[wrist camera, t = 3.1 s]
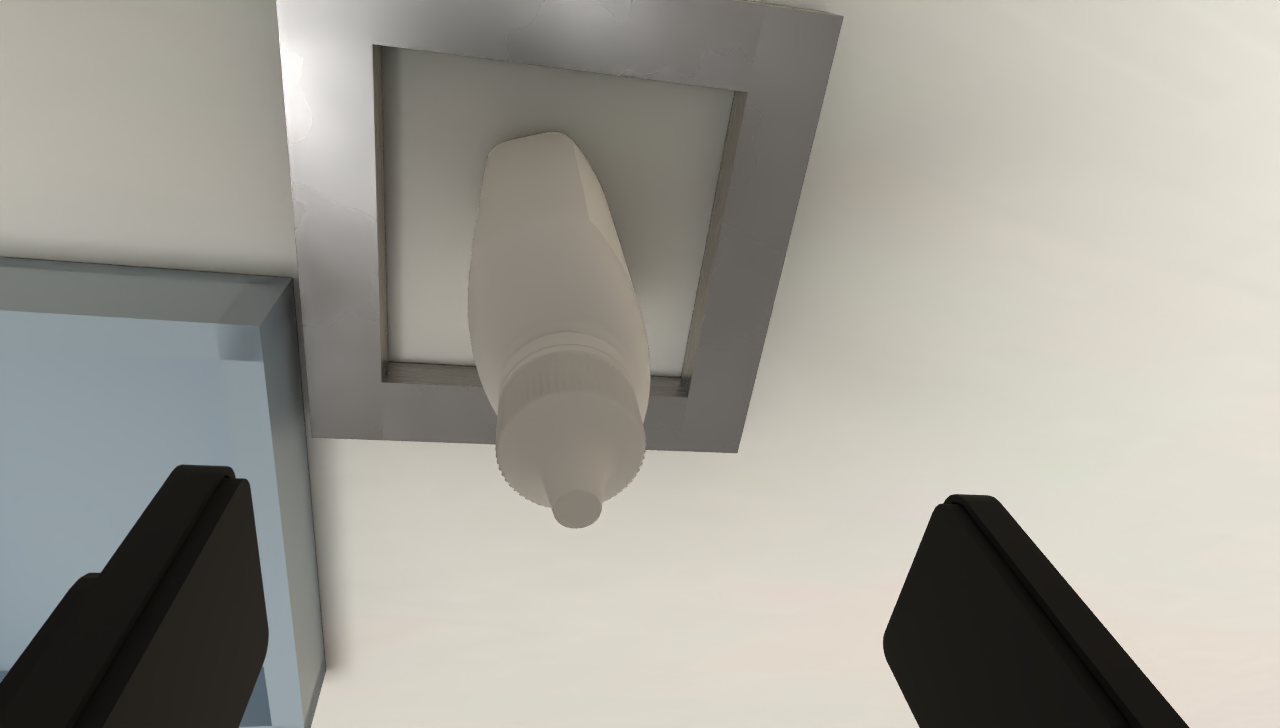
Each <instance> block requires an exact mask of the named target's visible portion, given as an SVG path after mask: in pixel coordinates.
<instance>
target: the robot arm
mask: <svg viewBox="0 0 1280 728" xmlns="http://www.w3.org/2000/svg"><path fill="white" fill-rule="evenodd" d="M268 641H269V628H268V620H267V612H266V605H265V597H264V589H263V581H262V573H261V565H260V557H259V549H258V542H257V534H256V526H255V518H254V510H253V502H252V494H251V487H250V483H249V481H248V480H247V479H244V478H236V477H235V473H234V471H233V469H232V468H231V467H229V466H210V465H184V464H181V465H179V466H177V467H176V468H175V469H174V470H173V471H172V472H171V474H170V475H169V476H168V478H167V479H166V481H165V482H164V483H163V485H162V486H161V488H160V489H159V491H158V492H157V493H156V495H155V496H154V498H153V499H152V500H151V502H150V503H149V505H148V506H147V508H146V509H145V510H144V512H143V513H142V515H141V516H140V517H139V519H138V520H137V522H136V523H135V525H134V526H133V527H132V529H131V530H130V532H129V533H128V534H127V536H126V537H125V539H124V540H123V542H122V543H121V544H120V546H119V547H118V549H117V550H116V552H115V553H114V554H113V556H112V557H111V559H110V560H109V561H108V563H107V564H106V566H105V567H104V569H103V570H102V571H101V573H88V574H86V575H84V576H82V577H80V578H79V579H78V580H77V581H76V582H75V583H74V585H73V586H72V587H71V588H70V589H69V590H68V592H67V593H66V594H65V596H64V597H63V598H62V600H61V601H60V603H59V604H58V605H57V607H56V608H55V609H54V611H53V612H52V613H51V615H50V616H49V617H48V619H47V620H46V622H45V623H44V624H43V626H42V627H41V628H40V630H39V631H38V632H37V634H36V635H35V636H34V638H33V639H32V641H31V642H30V643H29V645H28V646H27V647H26V649H25V650H24V651H23V653H22V654H21V655H20V657H19V658H18V660H17V661H16V662H15V664H14V665H13V666H12V668H11V669H10V670H9V672H8V673H7V675H6V676H5V677H4V679H3V680H2V681H1V683H0V728H239V725H240V723H241V720H242V718H243V715H244V712H245V710H246V707H247V705H248V702H249V700H250V697H251V694H252V692H253V689H254V687H255V684H256V681H257V679H258V676H259V674H260V671H261V668H262V666H263V663H264V660H265V657H266V653H267V648H268ZM883 649H884V654H885V657H886V660H887V662H888V664H889V666H890V668H891V670H892V672H893V674H894V677H895V679H896V681H897V683H898V685H899V687H900V689H901V691H902V693H903V695H904V697H905V699H906V701H907V703H908V705H909V707H910V709H911V711H912V713H913V715H914V717H915V719H916V721H917V723H918V725H919V727H920V728H1189V727H1188V725H1187V724H1186V723H1185V722H1184V721H1183V719H1182V718H1181V717H1180V716H1179V715H1178V713H1177V712H1176V711H1175V710H1174V709H1173V708H1172V706H1171V705H1170V704H1169V703H1168V702H1167V700H1166V699H1165V698H1164V697H1163V696H1162V694H1161V693H1160V692H1159V691H1158V690H1157V689H1156V687H1155V686H1154V685H1153V684H1152V683H1151V681H1150V680H1149V679H1148V678H1147V677H1146V675H1145V674H1144V673H1143V672H1142V671H1141V669H1140V668H1139V667H1138V666H1137V665H1136V664H1135V662H1134V661H1133V660H1132V659H1131V658H1130V656H1129V655H1128V654H1127V653H1126V652H1125V650H1124V649H1123V648H1122V647H1121V646H1120V644H1119V643H1118V642H1117V641H1116V640H1115V639H1114V637H1113V636H1112V635H1111V634H1110V633H1109V631H1108V630H1107V629H1106V628H1105V627H1104V625H1103V624H1102V623H1101V622H1100V621H1099V620H1098V618H1097V617H1096V616H1095V615H1094V614H1093V612H1092V611H1091V610H1090V609H1089V608H1088V606H1087V605H1086V604H1085V603H1084V602H1083V600H1082V599H1081V598H1080V597H1079V596H1078V595H1077V593H1076V592H1075V591H1074V590H1073V589H1072V587H1071V586H1070V585H1069V584H1068V583H1067V581H1066V580H1065V579H1064V578H1063V577H1062V576H1061V574H1060V573H1059V572H1058V571H1057V570H1056V568H1055V567H1054V566H1053V565H1052V564H1051V562H1050V561H1049V560H1048V559H1047V558H1046V556H1045V555H1044V554H1043V553H1042V552H1041V551H1040V549H1039V548H1038V547H1037V546H1036V545H1035V543H1034V542H1033V541H1032V540H1031V539H1030V537H1029V536H1028V535H1027V534H1026V533H1025V531H1024V530H1023V529H1022V528H1021V527H1020V526H1019V524H1018V523H1017V522H1016V521H1015V520H1014V518H1013V517H1012V516H1011V515H1010V514H1009V512H1008V511H1007V510H1006V509H1005V508H1004V507H1003V505H1002V504H1001V503H1000V502H999V501H998V500H997V499H996V498H995V497H992V496H988V495H962V494H955V495H950V496H949V497H948V498H947V499H946V500H945V502H944V503H943V504H939V505H938V506H937V507H935V509H934V511H933V513H932V516H931V518H930V521H929V523H928V526H927V528H926V531H925V533H924V536H923V538H922V541H921V543H920V546H919V548H918V551H917V553H916V556H915V558H914V561H913V563H912V566H911V568H910V570H909V573H908V575H907V578H906V580H905V583H904V585H903V588H902V590H901V593H900V595H899V598H898V600H897V603H896V605H895V608H894V610H893V613H892V615H891V618H890V620H889V623H888V625H887V628H886V630H885V633H884V637H883Z"/></svg>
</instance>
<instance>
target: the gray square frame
mask: <svg viewBox="0 0 1280 728" xmlns="http://www.w3.org/2000/svg"><path fill="white" fill-rule="evenodd" d="M276 5H277V18H278V30H279V42H280V55H281V67H282V79H283V91H284V104H285V116H286V128H287V140H288V153H289V165H290V177H291V189H292V202H293V214H294V226H295V238H296V251H297V263H298V275H299V287H300V300H301V312H302V324H303V336H304V349H305V361H306V373H307V385H308V398H309V410H310V422H311V434H312V438H337V439H365V440H392V441H420V442H447V443H475V444H496V433H497V415H496V413H495V411H494V409H493V408H492V406H491V404H490V402H489V400H488V397H487V395H486V393H485V391H484V388H483V386H482V383H481V380H480V377H479V374H478V371H477V367H472V366H453V365H435V364H417V363H398V362H388V337H387V293H386V248H385V204H384V159H383V115H382V71H381V45H384V46H391V47H399V48H407V49H415V50H423V51H430V52H438V53H446V54H454V55H462V56H469V57H477V58H485V59H493V60H501V61H509V62H516V63H524V64H532V65H540V66H548V67H555V68H563V69H571V70H579V71H587V72H594V73H602V74H610V75H618V76H626V77H633V78H641V79H649V80H657V81H665V82H672V83H680V84H688V85H696V86H704V87H711V88H719V89H727V90H735V94H734V99H733V105H732V110H731V115H730V121H729V126H728V131H727V136H726V142H725V147H724V152H723V158H722V163H721V168H720V173H719V179H718V184H717V189H716V195H715V200H714V205H713V210H712V216H711V221H710V226H709V231H708V237H707V242H706V247H705V253H704V258H703V263H702V268H701V274H700V279H699V284H698V290H697V295H696V300H695V305H694V311H693V316H692V321H691V327H690V332H689V337H688V342H687V348H686V353H685V358H684V364H683V369H682V374H681V378H673V377H655V376H650V392H649V400H648V406H647V411H646V415H645V419H644V423H643V427H644V431H645V437H646V440H645V442H646V447H645V450H667V451H694V452H722V453H737V452H738V448H739V444H740V440H741V436H742V432H743V428H744V424H745V419H746V415H747V411H748V407H749V403H750V399H751V395H752V391H753V387H754V382H755V378H756V374H757V370H758V366H759V362H760V358H761V354H762V350H763V345H764V341H765V337H766V333H767V329H768V325H769V321H770V317H771V313H772V308H773V304H774V300H775V296H776V292H777V288H778V284H779V280H780V276H781V272H782V267H783V263H784V259H785V255H786V251H787V247H788V243H789V239H790V235H791V230H792V226H793V222H794V218H795V214H796V210H797V206H798V202H799V198H800V193H801V189H802V185H803V181H804V177H805V173H806V169H807V165H808V161H809V156H810V152H811V148H812V144H813V140H814V136H815V132H816V128H817V124H818V119H819V115H820V111H821V107H822V103H823V99H824V95H825V91H826V87H827V83H828V78H829V74H830V70H831V66H832V62H833V58H834V54H835V50H836V46H837V41H838V37H839V33H840V29H841V25H842V21H843V16H839V15H835V14H831V13H827V12H821V11H814V10H808V9H801V8H794V7H788V6H781V5H775V4H768V3H761V2H755V1H748V0H276Z"/></svg>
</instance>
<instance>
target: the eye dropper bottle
mask: <svg viewBox="0 0 1280 728" xmlns="http://www.w3.org/2000/svg"><path fill="white" fill-rule="evenodd" d="M468 318H469V331H470V338H471V345H472V351H473V355H474V360H475V364H476V367H477V371H478V374H479V377H480V380H481V383H482V386H483V388H484V391H485V393H486V395H487V397H488V400H489V402H490V404H491V406H492V408H493V409H494V411H495V413H496V415H497V433H496V457H497V463H498V464H499V470H501V471H502V476H504V477H505V481H507V482H508V483H509V486H511V487H512V488H514V491H516V492H518V493H519V495H521V496H523V497H525V499H528V500H530V501H531V502H534V503H537V504H538V505H542V506H545V507H550V508H552V511H553V514H554V517H555V519H556V520H557V521H558V522H559V523H560V524H561V525H563V526H565V527H569V528H583V527H586V526H589V525H591V524H592V523H594V522H595V521H596V520H597V519H598V517H599V516H600V513H601V509H602V502H604V501H606V500H608V499H610V498H611V497H613V496H615V495H617V493H619V492H621V491H622V490H623V489H624V488H625V487H627V485H628V484H629V483H630V482H632V479H633V478H634V477H635V476H636V473H637V472H638V471H639V470H640V468H639V467H640V466H641V465H642V464H643V463H642V460H643V459H644V458H645V457H644V454H645V452H646V450H645V447H646V442H645V440H646V437H645V431H644V427H643V423H644V419H645V415H646V411H647V406H648V400H649V392H650V356H649V347H648V340H647V334H646V330H645V326H644V322H643V318H642V314H641V310H640V307H639V304H638V300H637V297H636V294H635V291H634V287H633V284H632V281H631V277H630V274H629V271H628V268H627V265H626V261H625V258H624V255H623V252H622V249H621V245H620V242H619V239H618V236H617V233H616V229H615V226H614V223H613V220H612V217H611V213H610V210H609V207H608V204H607V201H606V198H605V196H604V193H603V190H602V188H601V186H600V184H599V181H598V179H597V177H596V175H595V173H594V171H593V169H592V168H591V166H590V164H589V163H588V161H587V159H586V158H585V156H584V155H583V153H582V152H581V150H580V149H579V148H578V146H577V145H576V144H575V143H574V141H573V140H572V139H571V138H569V137H568V136H566V135H565V134H563V133H560V132H547V133H541V134H536V135H531V136H527V137H522V138H517V139H513V140H509V141H505V142H502V143H500V144H498V145H497V146H495V147H493V148H492V150H491V152H490V154H489V155H488V157H487V162H486V167H485V172H484V178H483V183H482V189H481V195H480V201H479V207H478V214H477V220H476V226H475V233H474V239H473V247H472V255H471V264H470V272H469V286H468Z"/></svg>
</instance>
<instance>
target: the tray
mask: <svg viewBox="0 0 1280 728" xmlns="http://www.w3.org/2000/svg"><path fill="white" fill-rule="evenodd" d="M181 464H184V465H210V466H229V467H231V468H232V469H233V471H234V473H235V477H236V478H244V479H247V480H248V481H249V483H250V487H251V494H252V502H253V510H254V518H255V526H256V534H257V542H258V549H259V557H260V565H261V573H262V581H263V589H264V597H265V605H266V612H267V620H268V628H269V641H268V648H267V653H266V657H265V660H264V663H263V666H262V668H261V671H260V674H259V676H258V679H257V681H256V684H255V687H254V689H253V692H252V694H251V697H250V700H249V702H248V705H247V707H246V710H245V712H244V715H243V718H242V720H241V723H240V725H239V728H311V724H312V720H313V717H314V713H315V709H316V706H317V702H318V698H319V695H320V691H321V687H322V683H323V680H324V676H325V672H326V665H325V653H324V642H323V630H322V619H321V607H320V595H319V584H318V572H317V560H316V549H315V537H314V526H313V514H312V502H311V491H310V479H309V467H308V456H307V444H306V433H305V421H304V409H303V398H302V386H301V374H300V363H299V351H298V340H297V328H296V316H295V305H294V293H293V281H292V278H285V277H271V276H257V275H243V274H230V273H216V272H202V271H188V270H174V269H161V268H147V267H133V266H119V265H105V264H92V263H78V262H64V261H50V260H37V259H23V258H9V257H0V683H1V681H2V680H3V679H4V677H5V676H6V675H7V673H8V672H9V670H10V669H11V668H12V666H13V665H14V664H15V662H16V661H17V660H18V658H19V657H20V655H21V654H22V653H23V651H24V650H25V649H26V647H27V646H28V645H29V643H30V642H31V641H32V639H33V638H34V636H35V635H36V634H37V632H38V631H39V630H40V628H41V627H42V626H43V624H44V623H45V622H46V620H47V619H48V617H49V616H50V615H51V613H52V612H53V611H54V609H55V608H56V607H57V605H58V604H59V603H60V601H61V600H62V598H63V597H64V596H65V594H66V593H67V592H68V590H69V589H70V588H71V587H72V586H73V585H74V583H75V582H76V581H77V580H78V579H79V578H80V577H82V576H84V575H86V574H88V573H101V571H102V570H103V569H104V567H105V566H106V564H107V563H108V561H109V560H110V559H111V557H112V556H113V554H114V553H115V552H116V550H117V549H118V547H119V546H120V544H121V543H122V542H123V540H124V539H125V537H126V536H127V534H128V533H129V532H130V530H131V529H132V527H133V526H134V525H135V523H136V522H137V520H138V519H139V517H140V516H141V515H142V513H143V512H144V510H145V509H146V508H147V506H148V505H149V503H150V502H151V500H152V499H153V498H154V496H155V495H156V493H157V492H158V491H159V489H160V488H161V486H162V485H163V483H164V482H165V481H166V479H167V478H168V476H169V475H170V474H171V472H172V471H173V470H174V469H175V468H176V467H177V466H179V465H181Z"/></svg>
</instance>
